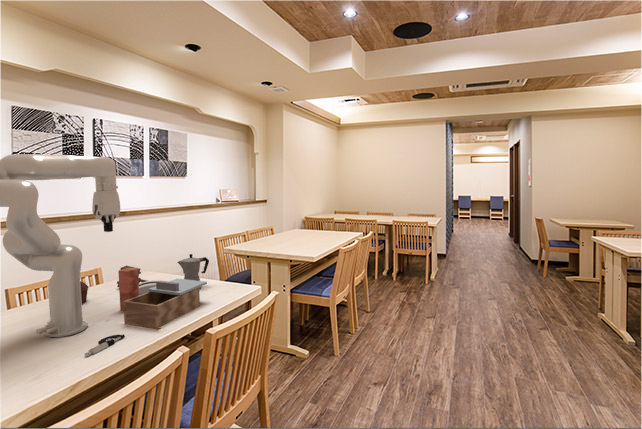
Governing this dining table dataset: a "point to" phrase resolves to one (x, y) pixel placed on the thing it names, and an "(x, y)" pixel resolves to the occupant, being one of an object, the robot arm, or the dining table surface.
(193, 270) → the coffeepot
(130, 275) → the peg
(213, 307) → the dining table surface
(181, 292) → the lid
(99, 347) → the micrometer
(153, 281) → the white curved piece
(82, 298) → the muffin
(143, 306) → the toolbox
